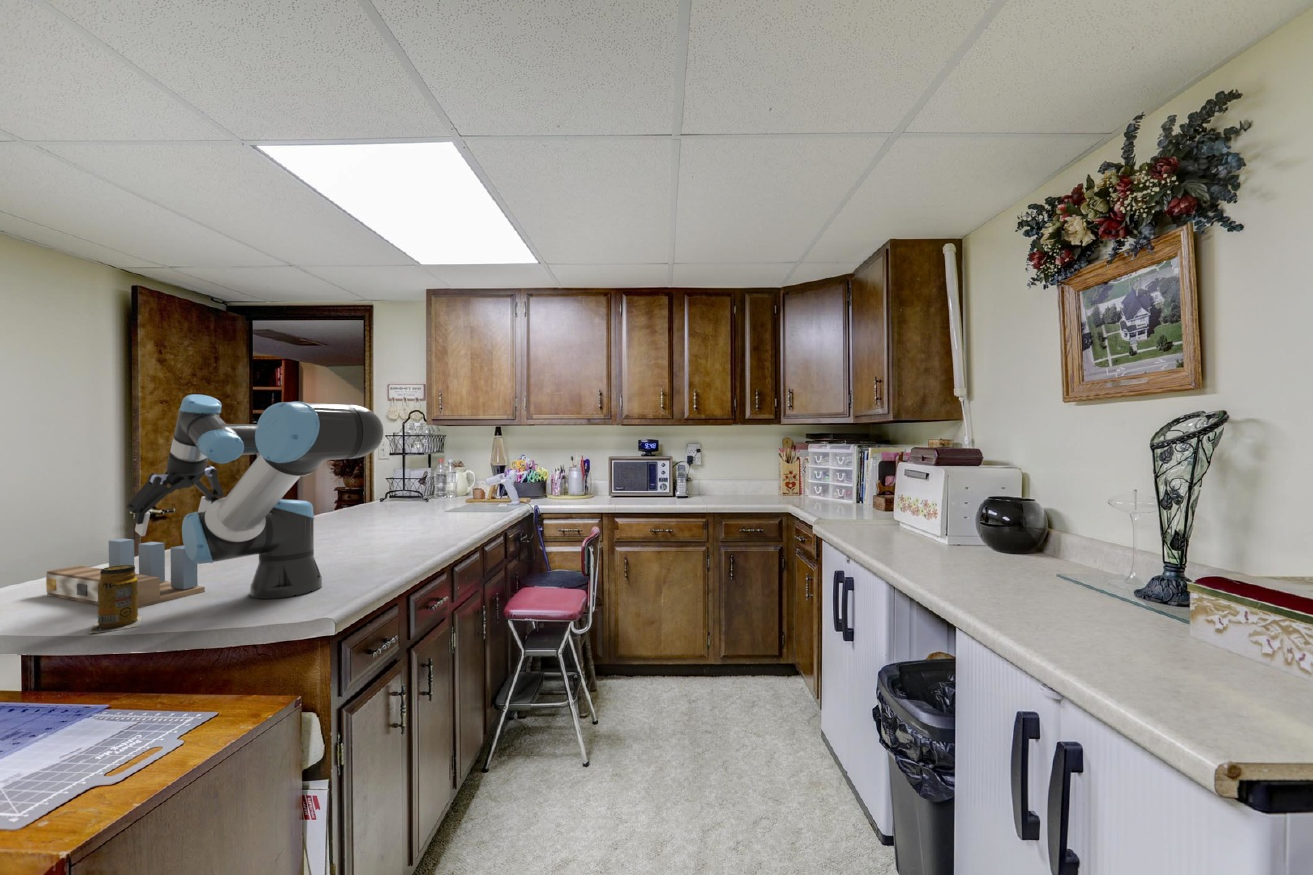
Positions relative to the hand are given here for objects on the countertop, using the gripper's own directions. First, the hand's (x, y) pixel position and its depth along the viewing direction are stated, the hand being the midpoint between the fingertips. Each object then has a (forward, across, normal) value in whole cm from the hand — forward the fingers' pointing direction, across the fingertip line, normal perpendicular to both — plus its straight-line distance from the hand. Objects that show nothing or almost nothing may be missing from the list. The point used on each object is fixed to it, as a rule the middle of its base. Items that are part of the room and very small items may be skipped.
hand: (171, 526), depth 142 cm
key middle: (+15, +3, +2) cm, 16 cm away
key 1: (+21, +2, -10) cm, 24 cm away
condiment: (+3, +23, +24) cm, 33 cm away
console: (+16, +8, +2) cm, 18 cm away
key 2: (+9, +3, +13) cm, 16 cm away
